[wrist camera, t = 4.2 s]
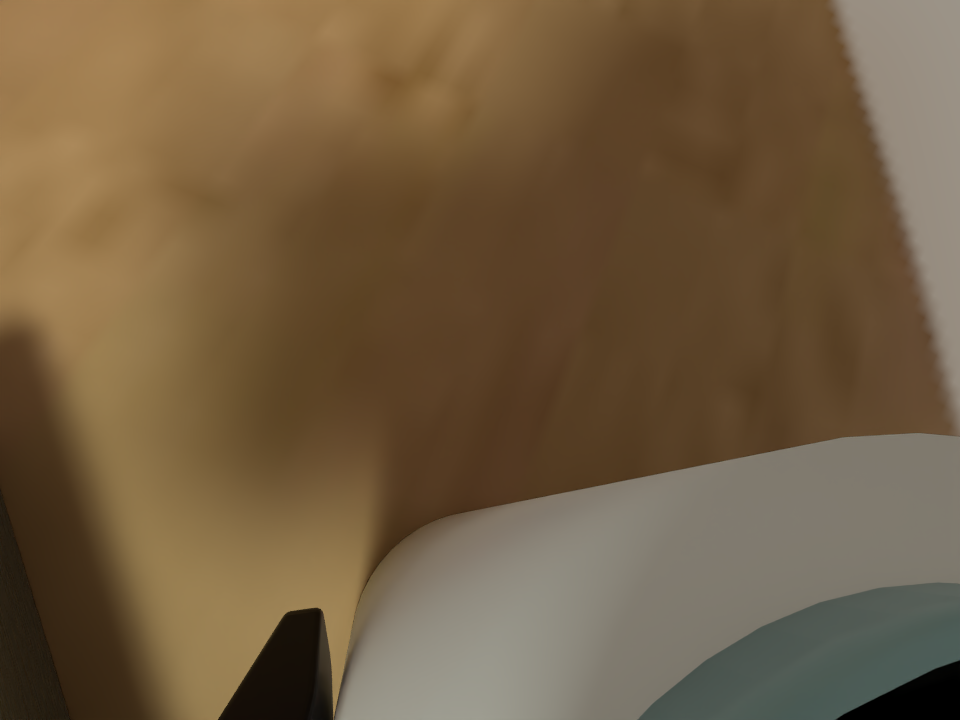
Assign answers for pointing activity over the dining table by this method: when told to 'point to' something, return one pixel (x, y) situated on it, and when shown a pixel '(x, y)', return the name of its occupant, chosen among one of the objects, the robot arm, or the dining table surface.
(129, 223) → the dining table surface
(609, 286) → the dining table surface
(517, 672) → the white canister
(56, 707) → the grey rectangular tray
